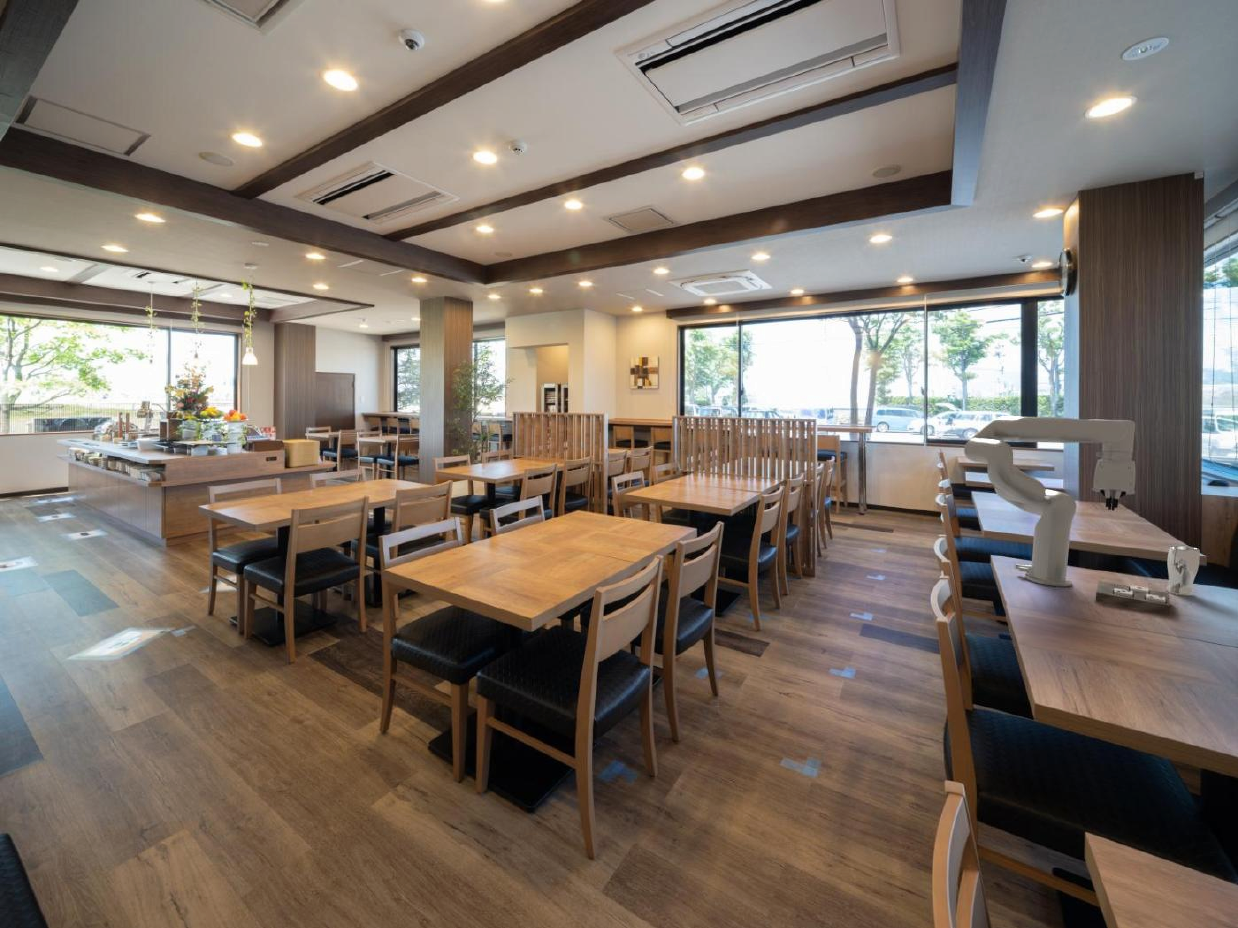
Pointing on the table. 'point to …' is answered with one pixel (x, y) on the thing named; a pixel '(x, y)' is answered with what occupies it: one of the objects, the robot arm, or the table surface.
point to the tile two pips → (1155, 598)
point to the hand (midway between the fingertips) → (1111, 509)
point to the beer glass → (1182, 569)
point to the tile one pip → (1139, 589)
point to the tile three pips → (1123, 592)
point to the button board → (1132, 598)
